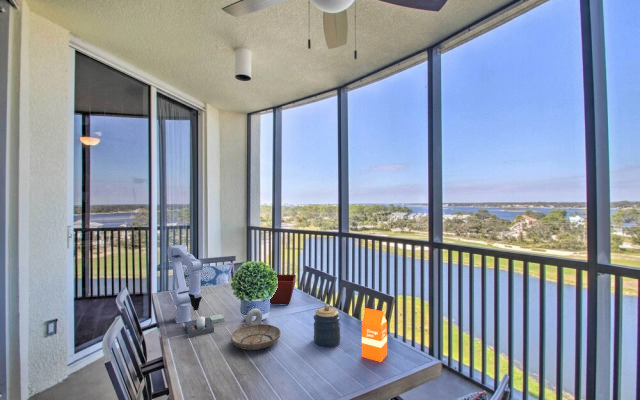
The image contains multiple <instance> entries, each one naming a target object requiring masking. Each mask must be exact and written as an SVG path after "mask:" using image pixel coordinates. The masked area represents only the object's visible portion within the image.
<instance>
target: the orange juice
mask: <svg viewBox="0 0 640 400" xmlns="http://www.w3.org/2000/svg"><path fill="white" fill-rule="evenodd" d="M387 356H388V321H387V318H386V314H385V312H384V311H383V310H378V309H372V308H368V307H365V309H364V313H363V317H362V322H361V357H362V358H366V359H368V360H372V361H376V362H379V363H382V362H383V360H384V359H385V358H386V357H387Z"/></svg>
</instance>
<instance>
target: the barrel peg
mask: <svg viewBox="0 0 640 400" xmlns="http://www.w3.org/2000/svg"><path fill="white" fill-rule="evenodd" d="M205 318H206V316H204V315H203V316H202V315H201V316H197V317H196V320H197V329H200V328H205Z"/></svg>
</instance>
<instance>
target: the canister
mask: <svg viewBox="0 0 640 400" xmlns="http://www.w3.org/2000/svg"><path fill="white" fill-rule="evenodd" d="M314 313H315V314H314V315H313V319H314V322H313V342H314V344H315V345H316V346H318V347H321V348H334V347H336V346H338V345H340V343H341V322H340V320H341V316H340V315H339V311H338V310H337V309H336V308H334V307H330V305H329V304H325V305H324V306H323V307H319V308H318V309H317V310H315V312H314Z"/></svg>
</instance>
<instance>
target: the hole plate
mask: <svg viewBox="0 0 640 400" xmlns="http://www.w3.org/2000/svg"><path fill="white" fill-rule="evenodd" d="M184 323H185V325H184V326H185V329H186V332H187V336H188V338H193V337H198V336H203V335H207V334H212V333H215V326H214V325H213V324H212V323H211V321H210V319H209V317H205V328H200V329H197V319H194V320H193V319H192V321H187V322H184Z"/></svg>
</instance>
